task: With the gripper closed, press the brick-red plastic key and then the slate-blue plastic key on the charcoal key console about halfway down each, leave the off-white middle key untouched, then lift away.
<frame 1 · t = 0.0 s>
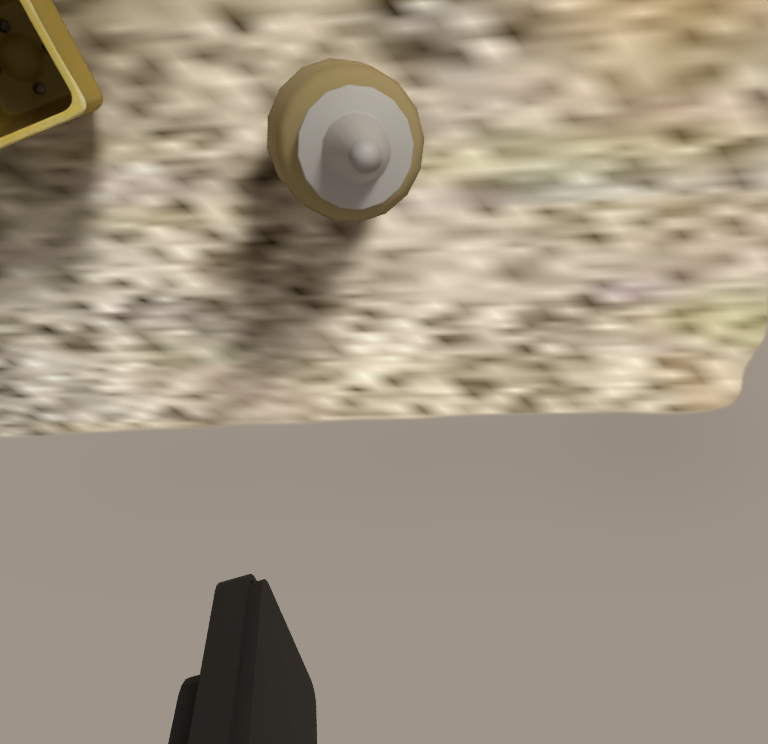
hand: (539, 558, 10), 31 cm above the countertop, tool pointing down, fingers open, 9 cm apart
flower pot: (28, 61, 32), on the countertop
squeeze bottle: (335, 137, 36), on the countertop
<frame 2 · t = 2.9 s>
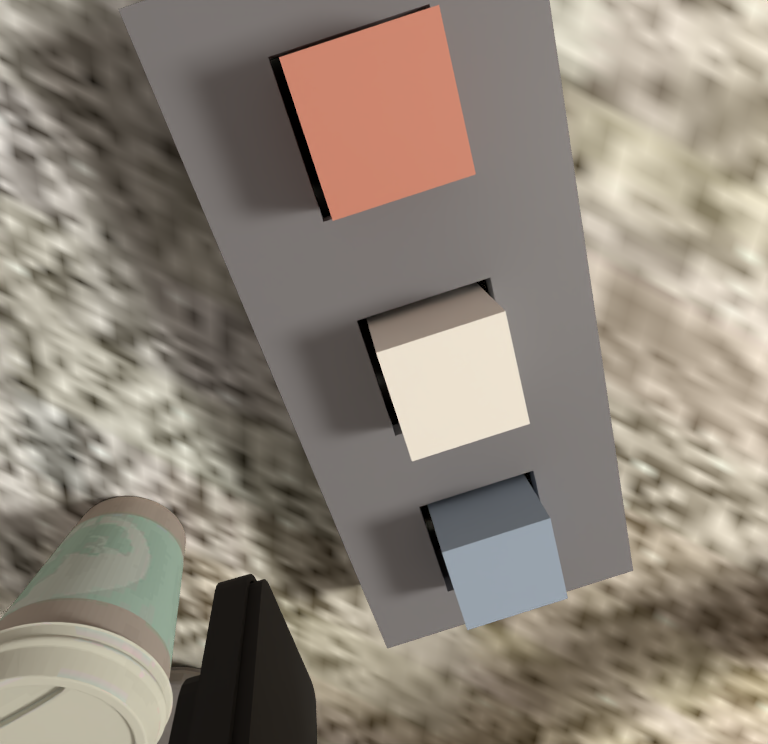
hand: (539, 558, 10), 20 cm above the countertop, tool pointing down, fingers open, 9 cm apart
key red: (374, 119, 21), point 5 cm above the countertop, slide at 0.0 cm
key blue: (491, 540, 29), point 6 cm above the countertop, slide at 0.0 cm
console: (420, 323, 30), on the countertop
coffee cup: (133, 535, 33), on the countertop
coffee pot: (239, 733, 40), on the countertop
key white: (442, 365, 25), point 5 cm above the countertop, slide at 0.0 cm
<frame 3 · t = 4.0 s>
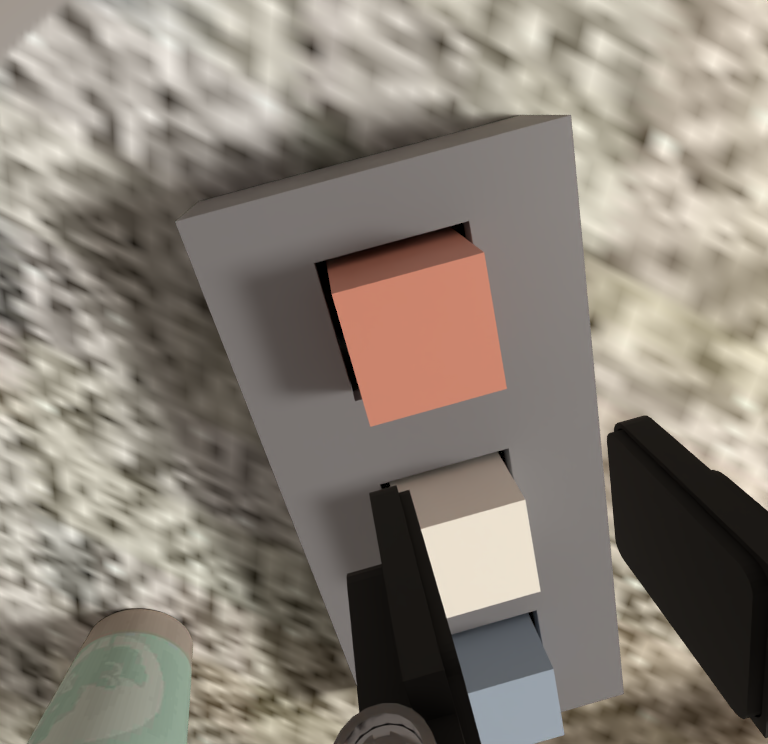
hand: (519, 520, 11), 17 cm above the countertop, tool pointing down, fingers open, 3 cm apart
key red: (411, 320, 22), point 5 cm above the countertop, slide at 0.0 cm
key blue: (493, 672, 30), point 5 cm above the countertop, slide at 0.0 cm
console: (433, 458, 31), on the countertop
coffee cup: (141, 642, 34), on the countertop
key white: (459, 524, 26), point 5 cm above the countertop, slide at 0.0 cm
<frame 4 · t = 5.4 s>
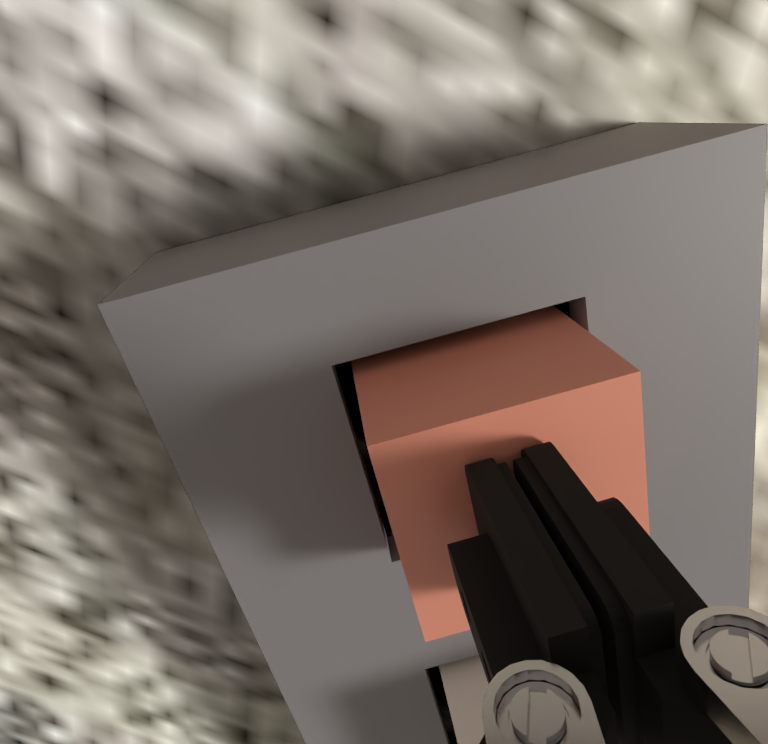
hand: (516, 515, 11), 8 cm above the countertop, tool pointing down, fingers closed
key red: (486, 451, 13), point 5 cm above the countertop, slide at 0.0 cm, touching gripper
console: (487, 587, 23), on the countertop
key white: (539, 720, 18), point 6 cm above the countertop, slide at 0.0 cm
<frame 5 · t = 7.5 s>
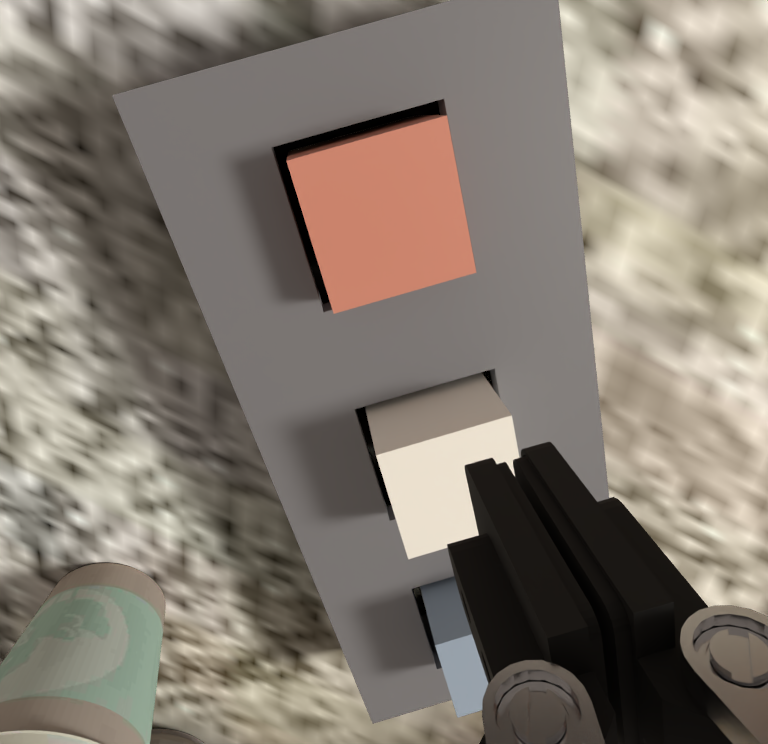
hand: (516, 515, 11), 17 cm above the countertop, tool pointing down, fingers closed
key red: (377, 208, 21), point 4 cm above the countertop, slide at 1.3 cm
key blue: (484, 622, 28), point 5 cm above the countertop, slide at 0.0 cm
console: (417, 395, 29), on the countertop
coffee cup: (110, 600, 32), on the countertop
key white: (442, 454, 24), point 5 cm above the countertop, slide at 0.0 cm
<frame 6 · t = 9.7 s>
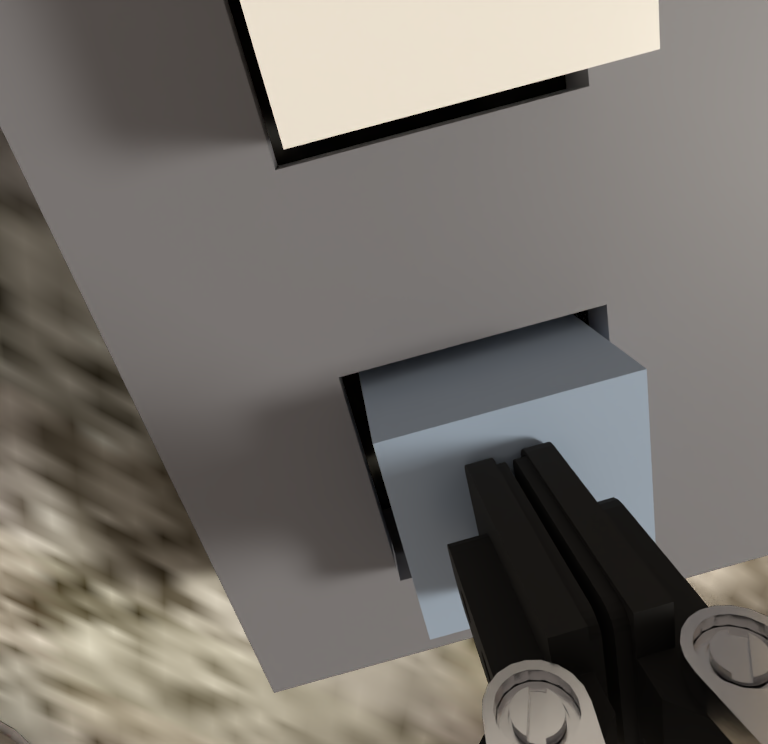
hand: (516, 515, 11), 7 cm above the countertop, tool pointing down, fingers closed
key blue: (491, 449, 13), point 5 cm above the countertop, slide at 0.8 cm, touching gripper
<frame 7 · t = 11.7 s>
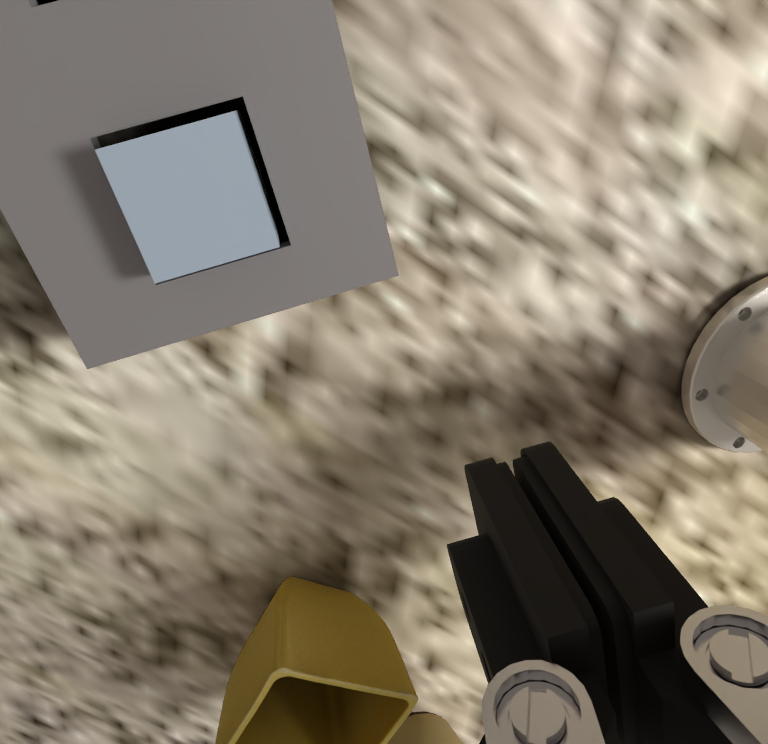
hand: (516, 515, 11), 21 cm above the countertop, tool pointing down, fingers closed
key blue: (199, 191, 24), point 4 cm above the countertop, slide at 1.5 cm
flower pot: (304, 607, 40), on the countertop
squeeze bottle: (413, 732, 48), on the countertop
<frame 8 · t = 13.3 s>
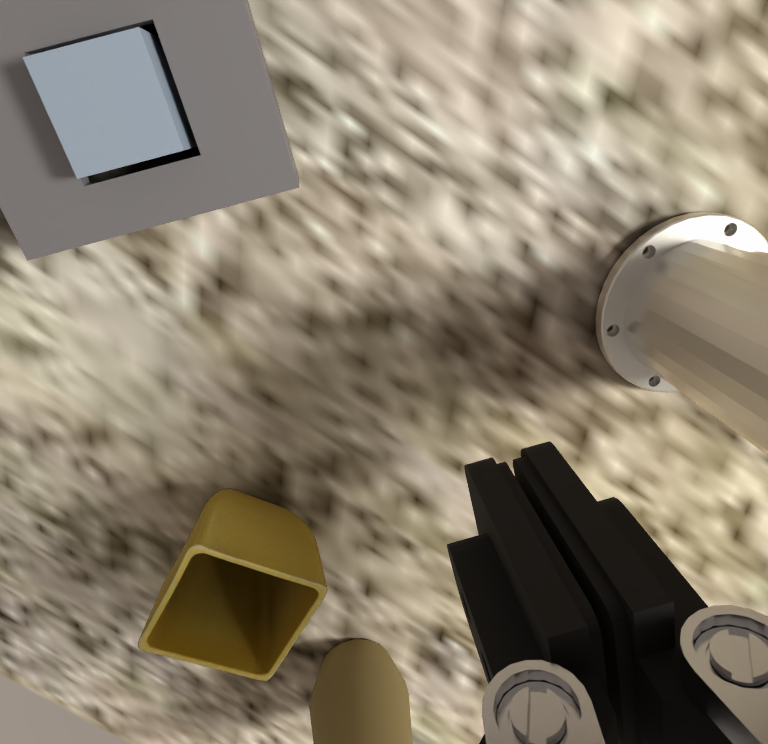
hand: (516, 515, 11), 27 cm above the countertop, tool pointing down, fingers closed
key blue: (122, 106, 28), point 4 cm above the countertop, slide at 1.5 cm
flower pot: (245, 522, 43), on the countertop
squeeze bottle: (355, 659, 50), on the countertop
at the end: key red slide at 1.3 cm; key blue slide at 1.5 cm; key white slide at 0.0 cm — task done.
